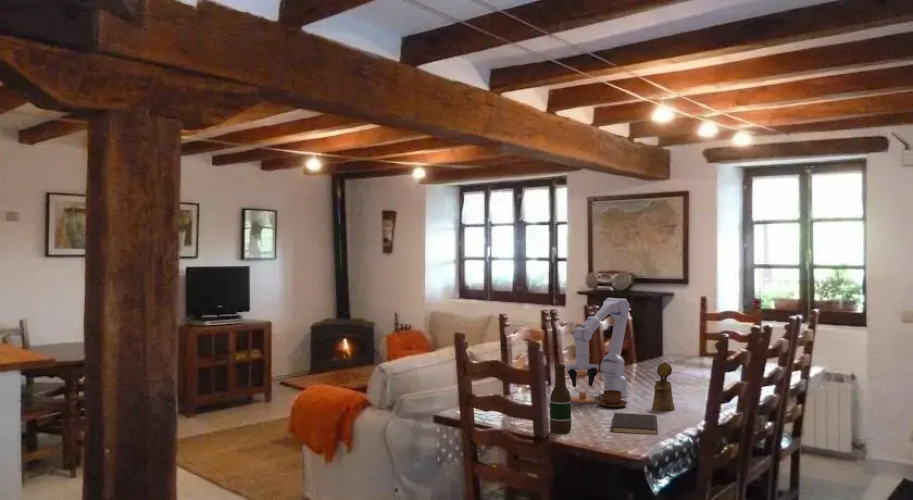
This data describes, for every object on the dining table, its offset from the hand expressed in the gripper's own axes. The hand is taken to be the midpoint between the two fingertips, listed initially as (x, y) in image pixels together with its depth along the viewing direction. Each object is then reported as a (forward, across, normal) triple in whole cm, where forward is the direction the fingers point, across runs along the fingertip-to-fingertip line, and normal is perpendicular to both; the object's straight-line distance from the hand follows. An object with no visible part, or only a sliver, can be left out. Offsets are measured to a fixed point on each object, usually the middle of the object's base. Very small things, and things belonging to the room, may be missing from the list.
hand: (582, 386), depth 310 cm
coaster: (+7, 0, 0) cm, 7 cm away
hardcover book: (+7, 0, +45) cm, 46 cm away
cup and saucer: (+7, -8, +12) cm, 16 cm away
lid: (+6, 0, 0) cm, 6 cm away
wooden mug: (+7, -27, +21) cm, 35 cm away
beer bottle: (+7, +30, +45) cm, 54 cm away
